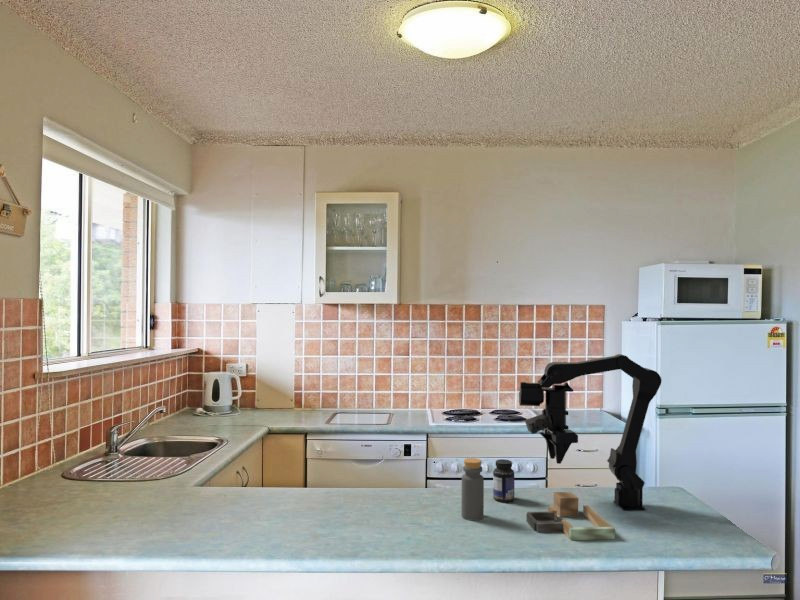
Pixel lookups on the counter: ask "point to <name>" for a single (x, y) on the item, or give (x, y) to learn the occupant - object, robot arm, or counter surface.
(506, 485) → the pill bottle
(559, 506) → the walnut block
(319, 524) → the counter surface
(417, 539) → the counter surface
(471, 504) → the bottle
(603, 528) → the channel
